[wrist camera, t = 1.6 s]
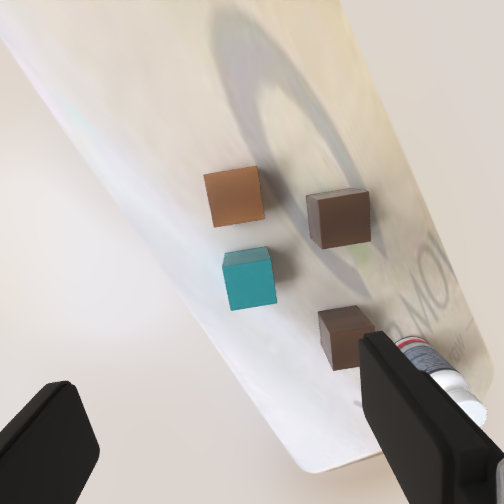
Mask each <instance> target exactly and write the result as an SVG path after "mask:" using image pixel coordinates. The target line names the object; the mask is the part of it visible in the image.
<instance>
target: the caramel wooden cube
mask: <svg viewBox="0 0 504 504" xmlns="http://www.w3.org/2000/svg"><path fill="white" fill-rule="evenodd" d="M203 176H204V181H205V186H206V191H207V196H208V200H209V205H210V210H211V215H212V220H213V225H214V227H221V226H227V225H233V224H239V223H245V222H251V221H257V220H263V219H265V217H264V210H263V203H262V196H261V190H260V183H259V176H258V169H257V166H253V167H247V168H241V169H235V170H229V171H223V172H217V173H211V174H205V175H203Z"/></svg>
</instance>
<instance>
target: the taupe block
mask: <svg viewBox="0 0 504 504" xmlns="http://www.w3.org/2000/svg"><path fill="white" fill-rule="evenodd" d="M306 201H307V211H308V220H309V230H310V238H311V239H312V240H313V241H314V242H315V243H316V244H317V245H318V246H319V247H320V248H321V249H327V248H333V247H339V246H346V245H352V244H358V243H364V242H370V241H371V229H370V203H369V191H363V190H356V189H350V188H349V189H343V190H337V191H331V192H325V193H319V194H313V195H307V196H306Z"/></svg>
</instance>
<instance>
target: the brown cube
mask: <svg viewBox="0 0 504 504" xmlns="http://www.w3.org/2000/svg"><path fill="white" fill-rule="evenodd" d="M318 318H319V327H320V337H321V345H322V348H323V350H324V352H325V354H326V356H327V358H328V361H329V363H330V365H331V367H332V369H333V371H335V370H342V369H348V368H354V367H360V362H359V347H358V340H359V339H362V338H363V335H364V334H365V333H370V332H375V328H374V325H373V324H372V323H371V322H370V321H369V320H368V318H367V317H366V316H365V315H364V314H363V313H362V311H361V310H360V309H359V308H358V307H357V306H351V307H345V308H339V309H332V310H326V311H320V312H318Z"/></svg>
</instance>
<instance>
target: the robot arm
mask: <svg viewBox="0 0 504 504" xmlns="http://www.w3.org/2000/svg"><path fill="white" fill-rule="evenodd" d="M358 347H359V362H360V378H361V393H362V407H363V411H364V415H365V417H366V419H367V421H368V423H369V425H370V427H371V429H372V431H373V433H374V435H375V437H376V439H377V441H378V443H379V445H380V447H381V449H382V451H383V453H384V455H385V457H386V459H387V461H388V463H389V465H390V467H391V468H392V470H393V472H394V474H395V476H396V478H397V480H398V482H399V484H400V486H401V488H402V490H403V492H404V494H405V496H406V498H407V500H408V502H409V504H504V453H503V452H502V451H501V449H500V448H499V447H498V446H497V445H496V444H495V443H494V442H493V441H492V440H491V439H490V438H489V437H488V436H487V435H486V434H485V433H484V432H483V430H481V428H480V427H479V426H478V425H477V424H476V423H475V422H474V421H473V420H472V419H471V418H470V417H469V416H468V415H467V414H466V413H465V411H464V410H463V409H462V408H461V407H460V406H459V405H458V404H457V403H456V402H455V401H454V400H453V399H452V398H451V397H450V396H449V395H448V394H447V392H446V391H445V390H444V389H443V388H442V387H441V386H440V385H439V384H438V383H437V382H436V381H435V380H434V379H433V378H432V377H431V376H430V375H429V374H428V373H427V372H426V371H423V370H418V369H417V368H416V367H415V365H414V364H413V363H412V362H411V361H410V360H409V359H408V358H407V357H406V356H405V354H404V353H403V352H402V351H401V350H400V349H399V348H398V347H397V346H396V345H395V344H394V342H393V341H392V340H391V339H390V338H389V337H388V336H387V335H386V334H385V333H384V332H383V331H377V332H370V333H365V334H364V335H363V338H362V339H359V340H358ZM99 454H100V448H99V445H98V442H97V439H96V437H95V434H94V432H93V429H92V427H91V424H90V422H89V419H88V416H87V414H86V411H85V409H84V407H83V404H82V401H81V398H80V396H79V393H78V391H77V388H76V387H75V385H72V384H71V383H70V382H69V381H60V382H54V383H49V384H46V385H45V386H44V387H43V388H42V389H41V390H40V391H39V392H38V393H37V394H36V395H35V396H34V397H33V398H32V399H31V401H29V403H28V404H26V406H25V407H24V408H23V409H22V410H21V411H20V412H19V413H18V414H17V415H16V416H15V417H14V418H13V419H12V420H11V421H10V422H9V423H8V424H7V426H5V428H4V429H3V430H2V431H1V432H0V504H76V502H77V500H78V498H79V496H80V494H81V492H82V490H83V488H84V486H85V484H86V482H87V480H88V478H89V476H90V474H91V473H92V471H93V468H94V467H95V465H96V463H97V461H98V458H99Z"/></svg>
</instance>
